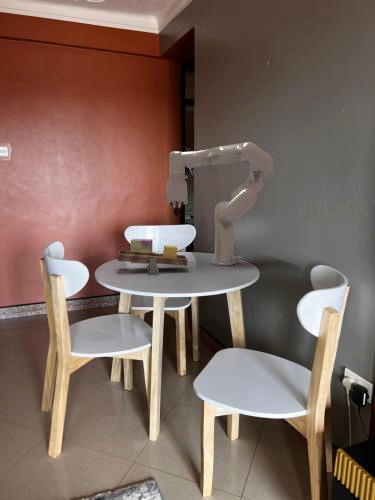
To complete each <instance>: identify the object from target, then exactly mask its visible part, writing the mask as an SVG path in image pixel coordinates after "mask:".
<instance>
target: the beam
mask: <svg viewBox="0 0 375 500" xmlns="http://www.w3.org/2000/svg"><path fill="white" fill-rule="evenodd" d="M150 258H156V259H157V265H170V266H184V267H187V266H188V261H189V260H188V258H187V257H186V255H184V254H183V255H182V254H181V255H179V254H177V259H173V258H163V253H156V252H155V253H145V252H132V251H131V250H130V251H129V250H118V252H117V262H118V261H119V262H128V263H129V262H130V263H131V262H141V263H140V264H149V263H150Z"/></svg>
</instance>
